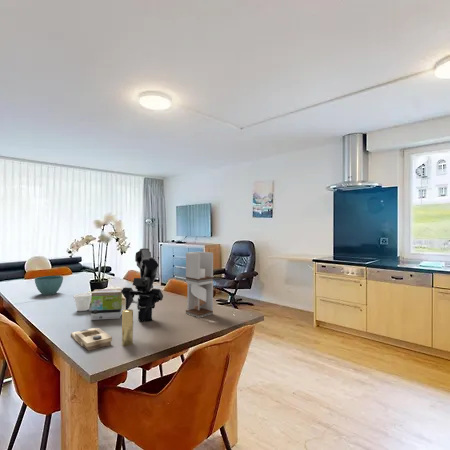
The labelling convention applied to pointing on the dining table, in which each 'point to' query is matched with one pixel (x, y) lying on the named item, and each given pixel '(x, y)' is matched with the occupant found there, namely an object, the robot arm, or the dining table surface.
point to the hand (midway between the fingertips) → (135, 310)
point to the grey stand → (199, 283)
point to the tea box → (106, 304)
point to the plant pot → (48, 284)
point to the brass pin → (127, 327)
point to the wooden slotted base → (92, 338)
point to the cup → (82, 301)
